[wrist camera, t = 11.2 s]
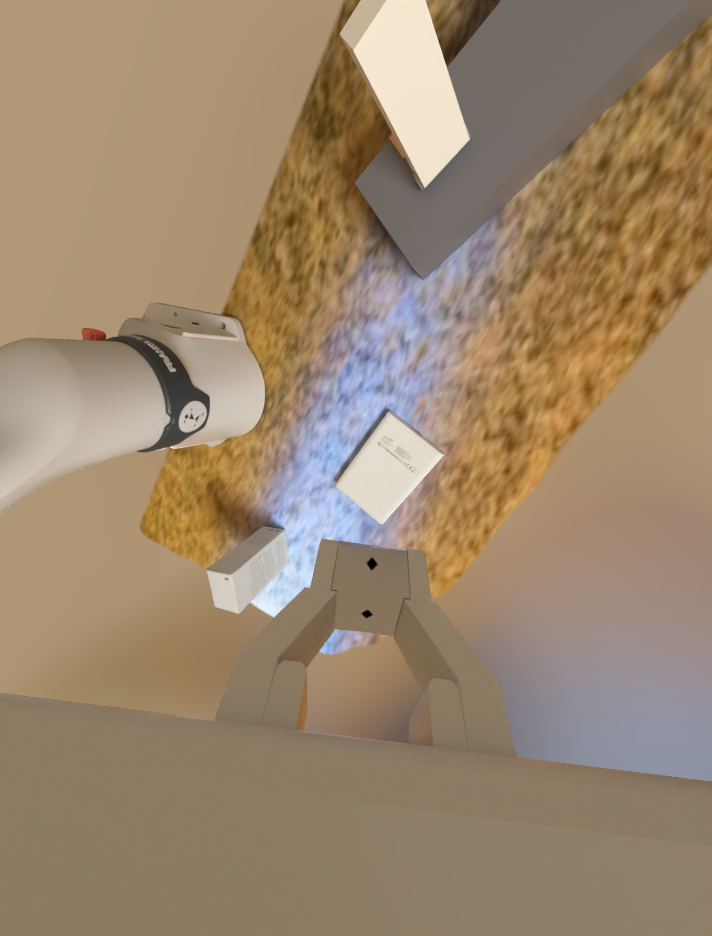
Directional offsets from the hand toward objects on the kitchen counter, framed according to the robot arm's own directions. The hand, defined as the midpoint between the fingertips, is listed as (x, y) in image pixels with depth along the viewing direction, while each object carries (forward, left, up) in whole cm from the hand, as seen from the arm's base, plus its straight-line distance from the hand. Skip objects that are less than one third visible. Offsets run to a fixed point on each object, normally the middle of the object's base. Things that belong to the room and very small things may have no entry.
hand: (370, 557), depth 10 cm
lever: (-10, +18, -24) cm, 32 cm away
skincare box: (-16, -30, -30) cm, 46 cm away
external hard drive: (-5, -10, -31) cm, 33 cm away
